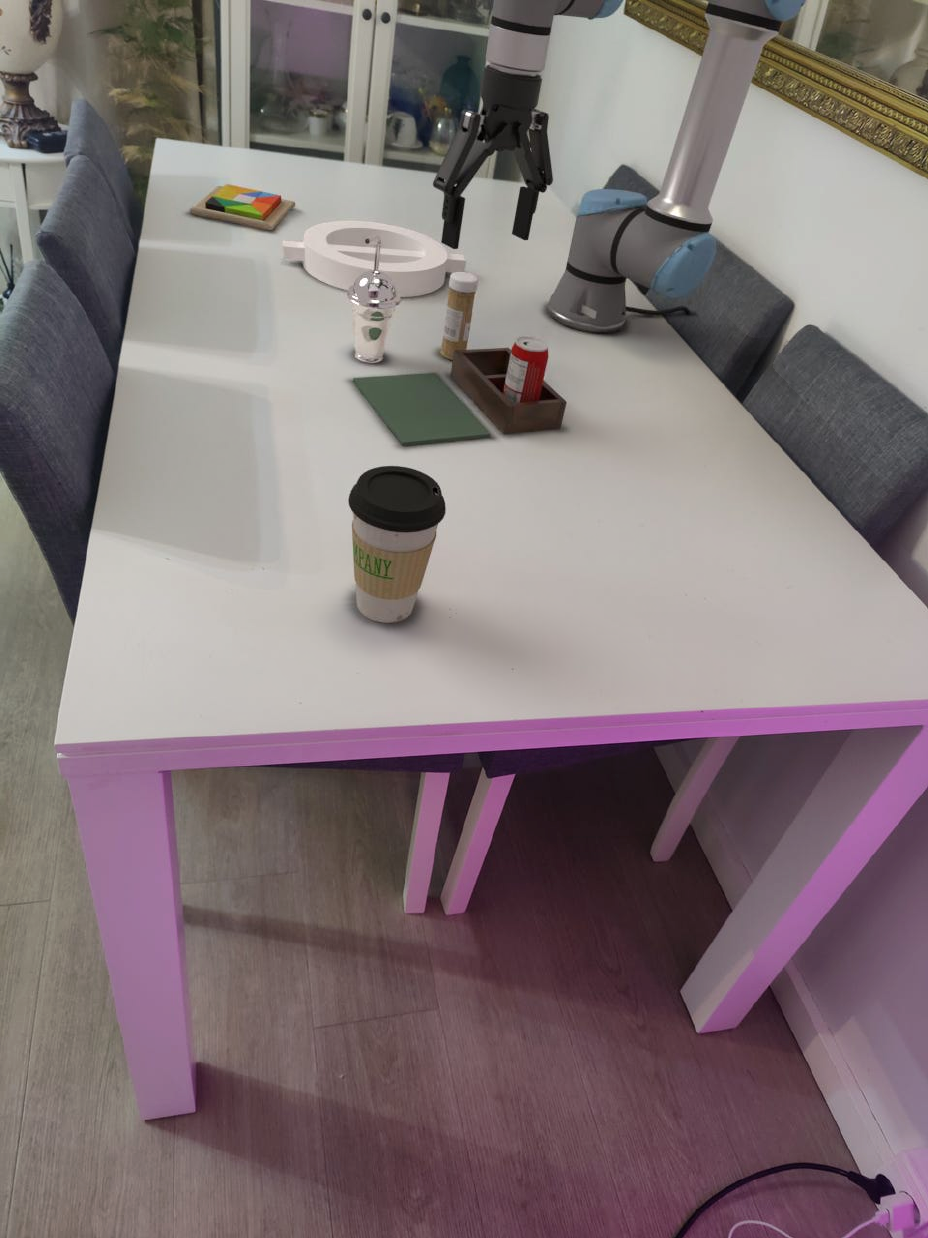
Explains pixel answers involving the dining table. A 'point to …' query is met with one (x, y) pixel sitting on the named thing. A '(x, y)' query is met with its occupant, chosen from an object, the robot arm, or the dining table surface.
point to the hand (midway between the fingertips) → (485, 241)
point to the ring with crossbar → (373, 255)
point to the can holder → (485, 385)
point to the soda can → (526, 369)
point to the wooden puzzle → (243, 206)
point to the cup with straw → (372, 309)
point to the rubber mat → (420, 409)
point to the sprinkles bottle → (458, 313)
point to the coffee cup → (392, 538)
